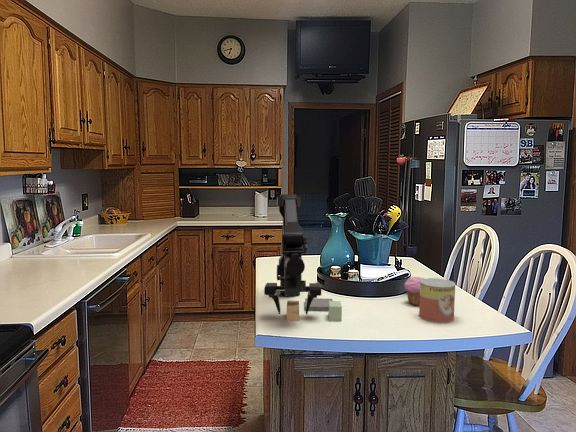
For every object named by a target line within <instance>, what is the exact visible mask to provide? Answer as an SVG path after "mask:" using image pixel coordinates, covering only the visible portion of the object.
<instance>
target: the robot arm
mask: <svg viewBox="0 0 576 432" xmlns="http://www.w3.org/2000/svg"><path fill="white" fill-rule="evenodd" d="M276 207H277V208H278V211H279V214H280V216H281V217H282V234H281V236H280V238H281V239H280V243H281V255H280V257H279V258H278V264H277V265H276V280H277V281H279V284H280V285H278V282H267V283H265V285H264V289H263V292H264V293H263V294H264V295H265V296H268V298H272V300H273V302H274V304H275V307H276V310H277V313H278V315H281V302H280V297H300V295H301V293H307V297H306V298H307V304H306V311H305V315H308V313H309V311H308V310H309V307H310V304H311V302H312V300H313V299H314V298H318V297H320V296H322V284H320V282H319V283H318V282H317V283H316V282H313V283H312V282H310V283H308V284H309V285H307V284H306V283H307V281H306V280H303V279H302V275H303V273H304V271H305V268H306V265H305V261H304V259H303V258H302V254H306V253H307V251H308V242H307V236H306V234H304V232H303V228H302V226H301V225H300V224H299V221H298V220H299V218H298V212H299V210H298V208H299V207H301V196H298V195H297V194H295V193H294V194H293V193H290V194H287V193H284V194H281V193H280V195H279V196H277V197H276Z"/></svg>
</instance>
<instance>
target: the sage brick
mask: <svg viewBox="0 0 576 432" xmlns="http://www.w3.org/2000/svg"><path fill="white" fill-rule="evenodd" d="M342 307H343V306H342V302H341V300H337V301H336V300H333V301H329V311H328V320H329V321H328V322H342V317H343V313H342V312H343V310H342V309H343V308H342Z"/></svg>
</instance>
